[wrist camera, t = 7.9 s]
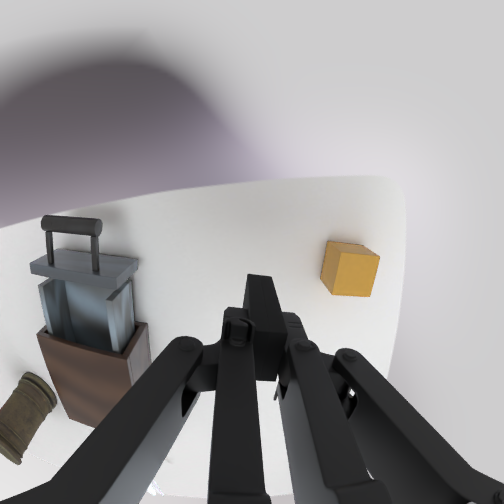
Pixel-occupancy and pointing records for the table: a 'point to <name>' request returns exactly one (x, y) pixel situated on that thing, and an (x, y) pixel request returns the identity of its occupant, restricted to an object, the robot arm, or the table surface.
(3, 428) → the container
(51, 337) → the cabinet
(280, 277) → the table surface
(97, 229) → the drawer
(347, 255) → the block
